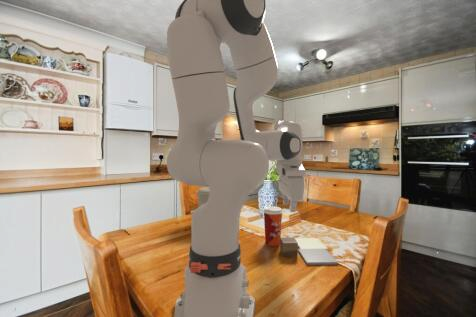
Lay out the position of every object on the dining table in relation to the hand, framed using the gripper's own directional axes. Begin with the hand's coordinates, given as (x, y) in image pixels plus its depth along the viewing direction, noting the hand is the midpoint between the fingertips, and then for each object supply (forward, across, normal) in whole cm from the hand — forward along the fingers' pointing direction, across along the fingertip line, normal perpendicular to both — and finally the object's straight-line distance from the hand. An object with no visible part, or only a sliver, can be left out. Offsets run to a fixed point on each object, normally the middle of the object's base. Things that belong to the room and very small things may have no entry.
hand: (289, 207), depth 80 cm
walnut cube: (+16, 0, 0) cm, 17 cm away
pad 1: (+16, -7, +10) cm, 20 cm away
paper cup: (+17, -9, -4) cm, 19 cm away
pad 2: (+16, +3, +9) cm, 19 cm away
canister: (+17, -34, -29) cm, 48 cm away
